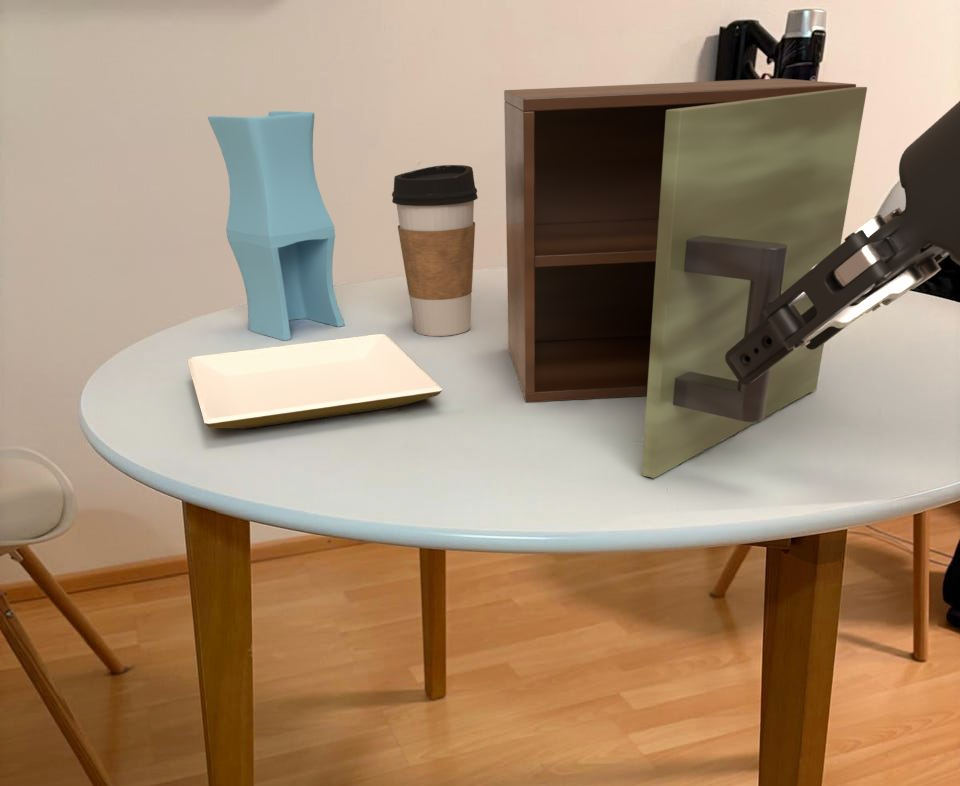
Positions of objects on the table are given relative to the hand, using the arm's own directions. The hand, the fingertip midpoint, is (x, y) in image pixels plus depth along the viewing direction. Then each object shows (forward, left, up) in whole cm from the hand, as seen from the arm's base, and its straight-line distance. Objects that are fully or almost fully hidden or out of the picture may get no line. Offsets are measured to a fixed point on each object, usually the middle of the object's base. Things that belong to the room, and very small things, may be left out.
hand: (770, 353), depth 55 cm
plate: (+31, -24, -9) cm, 40 cm away
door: (-4, -8, -9) cm, 13 cm away
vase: (+35, -48, -9) cm, 60 cm away
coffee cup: (+19, -44, -9) cm, 49 cm away
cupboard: (+1, -27, -9) cm, 29 cm away
